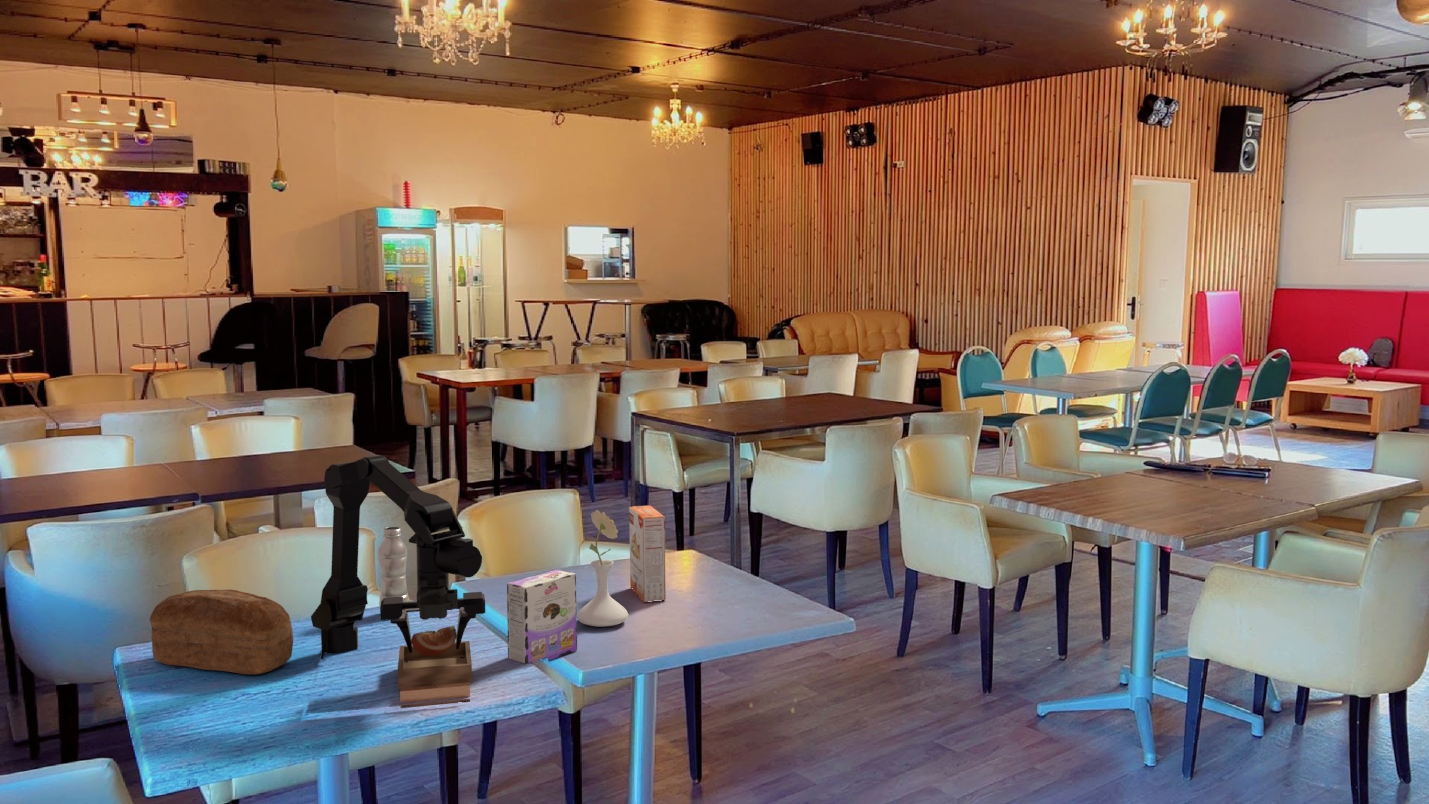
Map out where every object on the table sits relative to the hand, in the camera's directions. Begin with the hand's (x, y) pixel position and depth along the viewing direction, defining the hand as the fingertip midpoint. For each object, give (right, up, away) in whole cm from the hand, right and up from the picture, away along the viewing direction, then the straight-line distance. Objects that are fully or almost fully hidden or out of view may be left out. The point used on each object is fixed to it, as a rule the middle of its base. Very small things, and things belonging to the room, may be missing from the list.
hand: (434, 650), depth 198 cm
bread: (-45, -6, +11) cm, 46 cm away
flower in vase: (+27, -3, +39) cm, 48 cm away
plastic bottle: (-21, -2, +44) cm, 49 cm away
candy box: (+18, -5, +16) cm, 24 cm away
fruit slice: (0, -1, 0) cm, 1 cm away
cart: (0, -5, +1) cm, 5 cm away
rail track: (-1, -6, +4) cm, 7 cm away
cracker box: (+36, -1, +61) cm, 71 cm away
